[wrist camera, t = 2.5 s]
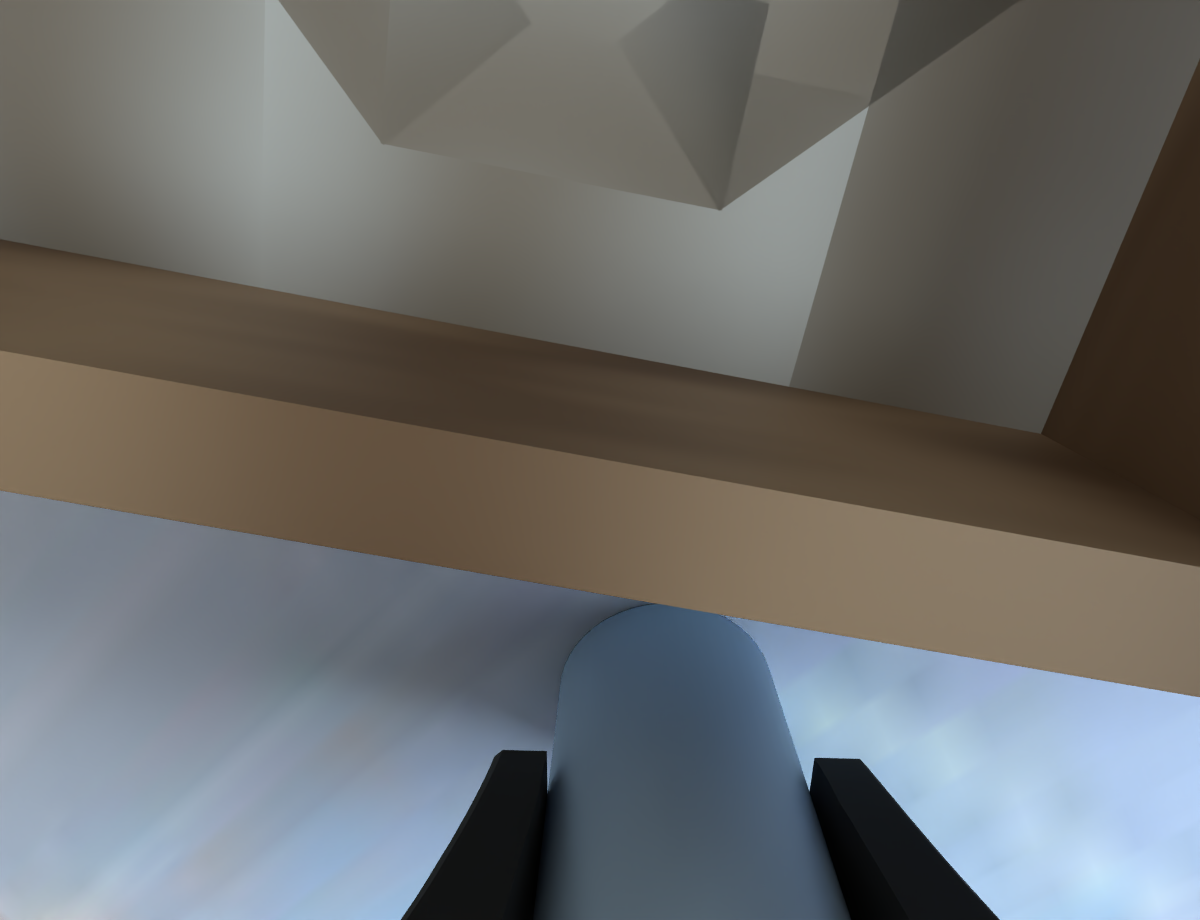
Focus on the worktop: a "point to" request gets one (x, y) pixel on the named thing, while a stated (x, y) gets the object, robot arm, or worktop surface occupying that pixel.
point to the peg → (678, 782)
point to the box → (634, 299)
